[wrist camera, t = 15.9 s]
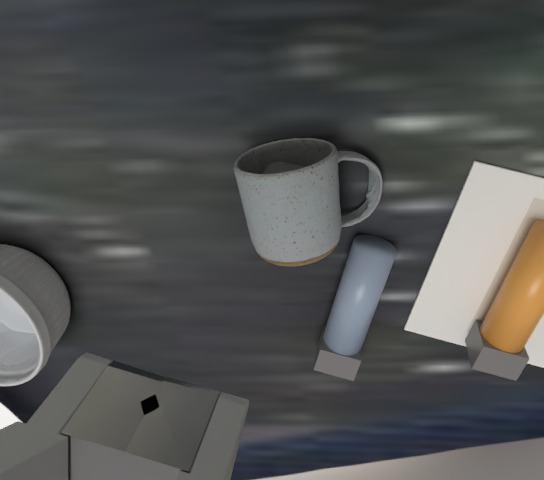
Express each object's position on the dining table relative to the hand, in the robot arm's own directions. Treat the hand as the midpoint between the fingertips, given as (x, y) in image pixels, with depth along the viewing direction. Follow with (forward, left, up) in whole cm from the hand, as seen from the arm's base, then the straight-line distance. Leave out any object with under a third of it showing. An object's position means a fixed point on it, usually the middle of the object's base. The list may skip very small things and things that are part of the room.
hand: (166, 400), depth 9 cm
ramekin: (+27, -25, -31) cm, 48 cm away
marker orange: (+12, +19, -31) cm, 38 cm away
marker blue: (+17, +7, -31) cm, 36 cm away
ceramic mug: (+8, +1, -31) cm, 32 cm away
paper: (+11, +19, -31) cm, 38 cm away
